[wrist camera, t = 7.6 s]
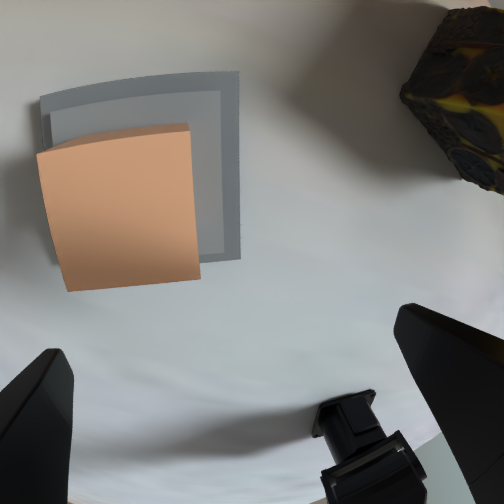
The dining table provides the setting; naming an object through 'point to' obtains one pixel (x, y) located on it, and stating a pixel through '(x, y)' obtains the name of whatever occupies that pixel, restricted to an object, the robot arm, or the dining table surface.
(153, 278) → the block
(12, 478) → the robot arm
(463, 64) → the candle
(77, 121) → the base
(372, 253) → the dining table surface
